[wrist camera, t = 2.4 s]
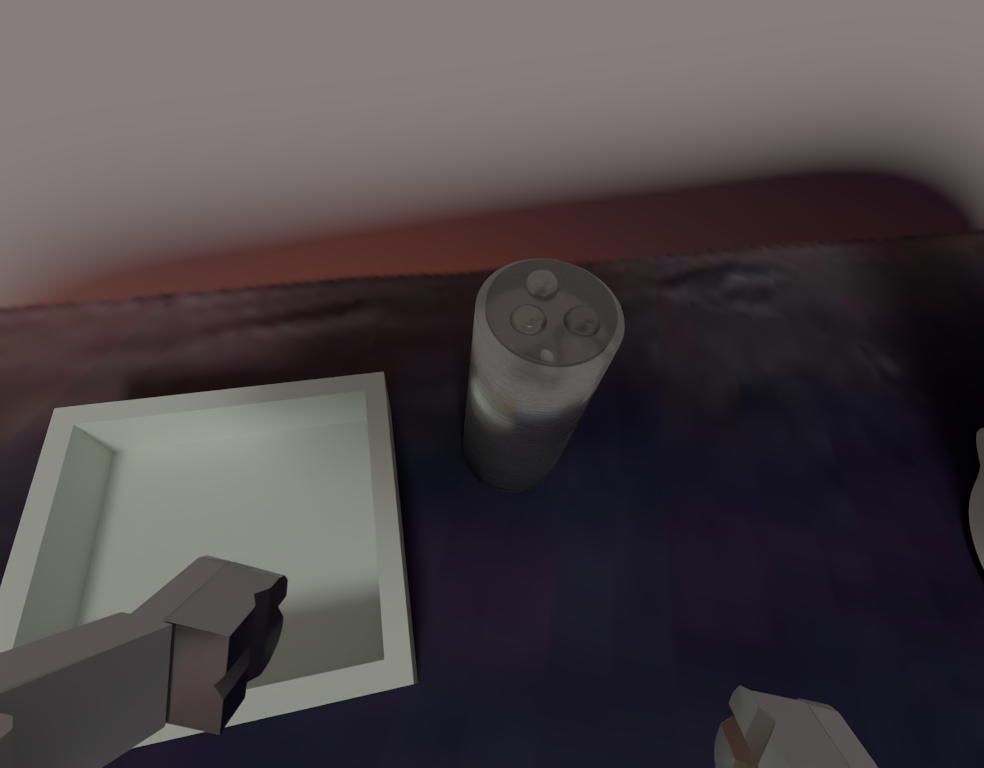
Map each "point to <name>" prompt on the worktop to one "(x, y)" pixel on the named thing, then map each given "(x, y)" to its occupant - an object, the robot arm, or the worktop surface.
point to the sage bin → (228, 527)
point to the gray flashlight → (534, 367)
